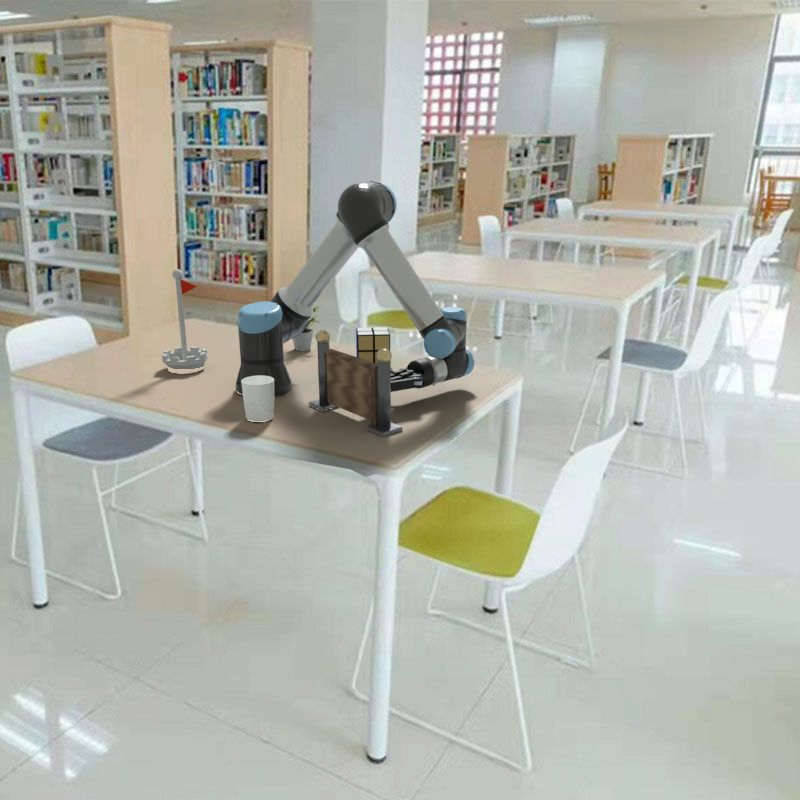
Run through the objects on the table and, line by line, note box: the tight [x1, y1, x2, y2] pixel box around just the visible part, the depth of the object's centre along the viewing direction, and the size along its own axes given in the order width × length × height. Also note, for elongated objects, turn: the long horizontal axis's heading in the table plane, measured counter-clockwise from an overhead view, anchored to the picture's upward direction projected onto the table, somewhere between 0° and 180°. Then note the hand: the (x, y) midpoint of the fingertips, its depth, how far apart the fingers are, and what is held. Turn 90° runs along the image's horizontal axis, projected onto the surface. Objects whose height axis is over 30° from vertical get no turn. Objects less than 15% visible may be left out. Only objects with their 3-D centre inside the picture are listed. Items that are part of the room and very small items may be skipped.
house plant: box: [292, 304, 322, 352], centre depth 250 cm, size 14×14×16 cm
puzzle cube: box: [355, 326, 391, 364], centre depth 237 cm, size 10×10×10 cm
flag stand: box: [161, 269, 209, 369], centre depth 226 cm, size 13×13×30 cm
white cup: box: [241, 375, 275, 421], centre depth 188 cm, size 8×8×10 cm
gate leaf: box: [325, 348, 378, 425], centre depth 187 cm, size 20×2×14 cm, turn 41°
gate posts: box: [308, 329, 403, 438], centre depth 187 cm, size 30×6×20 cm, turn 41°
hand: (355, 390), depth 188 cm, fingers closed
